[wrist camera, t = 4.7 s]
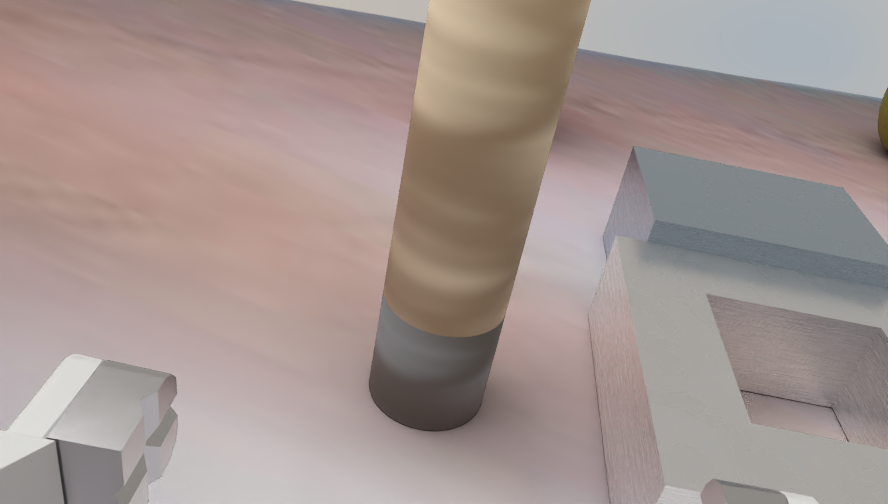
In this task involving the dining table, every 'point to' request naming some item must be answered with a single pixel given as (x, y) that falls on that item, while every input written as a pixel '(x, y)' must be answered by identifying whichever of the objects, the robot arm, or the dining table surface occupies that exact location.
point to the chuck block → (738, 333)
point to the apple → (883, 121)
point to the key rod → (467, 198)
